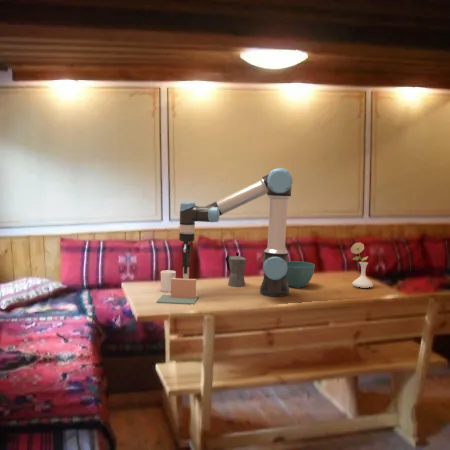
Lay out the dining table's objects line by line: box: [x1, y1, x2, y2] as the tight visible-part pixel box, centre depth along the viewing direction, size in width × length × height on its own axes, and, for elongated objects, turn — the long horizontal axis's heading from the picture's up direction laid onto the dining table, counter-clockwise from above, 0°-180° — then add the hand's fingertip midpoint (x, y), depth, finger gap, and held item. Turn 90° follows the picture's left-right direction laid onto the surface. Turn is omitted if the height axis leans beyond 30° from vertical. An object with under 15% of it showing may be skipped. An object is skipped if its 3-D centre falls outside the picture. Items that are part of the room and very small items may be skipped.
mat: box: [156, 294, 199, 305], centre depth 290 cm, size 18×15×1 cm
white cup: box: [160, 269, 177, 293], centre depth 310 cm, size 8×8×10 cm
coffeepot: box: [225, 252, 247, 288], centre depth 328 cm, size 15×9×18 cm, turn 44°
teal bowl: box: [286, 261, 316, 288], centre depth 329 cm, size 18×18×12 cm
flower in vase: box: [350, 242, 374, 289], centre depth 330 cm, size 13×11×25 cm
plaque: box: [170, 278, 197, 298], centre depth 293 cm, size 12×2×9 cm, turn 84°
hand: (185, 279), depth 300 cm, fingers closed
